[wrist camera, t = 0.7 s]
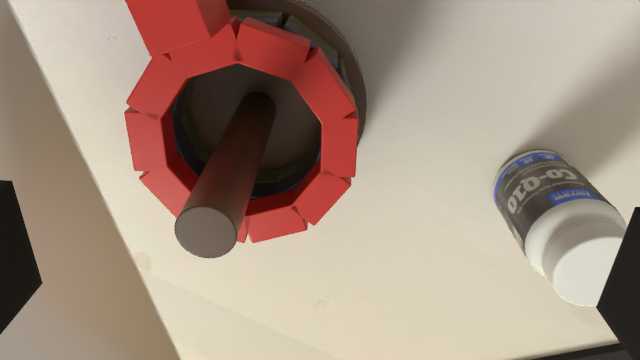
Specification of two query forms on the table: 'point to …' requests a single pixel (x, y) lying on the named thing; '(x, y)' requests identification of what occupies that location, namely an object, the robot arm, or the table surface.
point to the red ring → (221, 51)
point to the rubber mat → (594, 354)
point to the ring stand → (252, 129)
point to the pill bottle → (560, 223)
